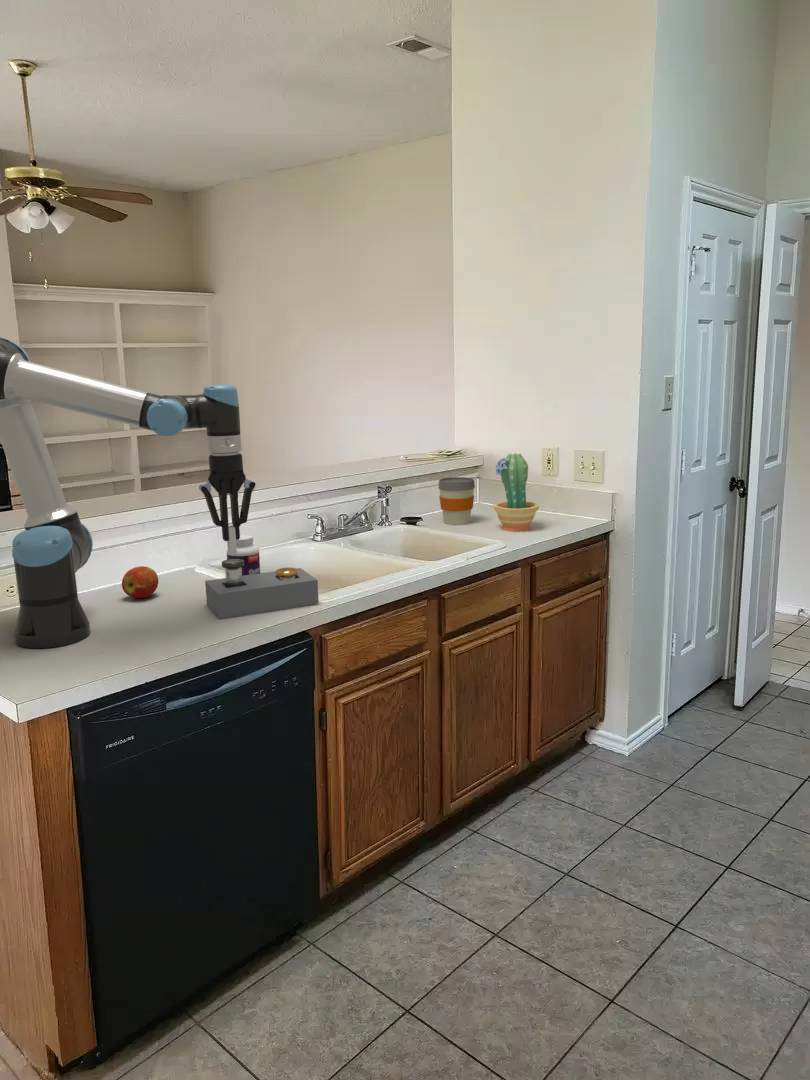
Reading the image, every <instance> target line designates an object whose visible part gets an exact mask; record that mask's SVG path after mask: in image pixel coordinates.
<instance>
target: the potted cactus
mask: <svg viewBox="0 0 810 1080" xmlns="http://www.w3.org/2000/svg"><path fill="white" fill-rule="evenodd" d="M495 472H496V476H499V477H500V480H501V482H502V484H503V486H504V490H505V498H506V501H500V502H499V501H498V502H495V503H493V509H494V512H496V514H497V518H498V521H499V522H500V523H501V525H502V530H503V531H506V532H507V531H508V532H525V531H528V530H530V527H529V526H530V525H531V523H532V522H533V520H534V519H535V516H536V513H537V512H538V511H539V507H540V506H539V505H540V504H539V503H536V502H532V501H527V496H526V494H527V492H526V490H527V489H526V485H527V481H528V477H529V465H528V462H527V460H526V459H525V458H524V456H523V455H522V454H521V453H518V454H517V453H513V454H512V453H508V454H507V456H506V457H502V458H501V459H499V460H498V461H497V462H496V465H495Z"/></svg>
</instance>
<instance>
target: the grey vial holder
mask: <svg viewBox="0 0 810 1080" xmlns="http://www.w3.org/2000/svg"><path fill="white" fill-rule="evenodd" d="M295 568H296V567H295ZM296 569H298V574H297V575H296V576H295V579H288V580H281V581H280V580H279V576H277V575H276V570H274V571H268V572H267V571H266V572H260V573H259V574H251V575H244V576H242V583H243V586H237V587H230V588H226V577H223V578H215V579H207V580H205V581H204V583H205V584H204V585H205V596H206V605H207V606H208V607H209V609H210V610H211V611H212V613H214V615H215V616H216V617H217V619H219V620H223V619H229V618H231V619H232V618H238V617H243V616H248V615H249V616H250V615H256V614H261V613H262V614H263V613H268V612H270V613H271V612H276V611H282V610H289V609H295V608H301V607H302V608H303V607H309V606H314V604H315V605H317V604H316V603H320V602H319V585H318V584H319V582H318V581H319V580H318V579H317V578H316V577H314V576H313V575H311V574H310V573H308V572H307V571H305V570H304V569H302V568H301V567H297V568H296Z"/></svg>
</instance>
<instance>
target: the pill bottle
mask: <svg viewBox="0 0 810 1080" xmlns="http://www.w3.org/2000/svg"><path fill="white" fill-rule="evenodd" d="M253 543H254V536H253V535H250V534H240V539H239V540H236V547H237V555H230V554H229V553H228V548H227V549H226V560H228V559H242V560H244V566H242V567H241V568H242V576H244V575H251V574H259V573H261V563H260V550H259V546H257V545H255V544H253Z"/></svg>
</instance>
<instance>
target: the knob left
mask: <svg viewBox="0 0 810 1080" xmlns="http://www.w3.org/2000/svg"><path fill="white" fill-rule="evenodd" d="M242 566H244V560H242V559H228V560H227V559H225V560H222V561H221V568H222V569H223V568H224V575H225V578H226V588H230V587H237V586H243V583H242V568H241V567H242Z"/></svg>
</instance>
